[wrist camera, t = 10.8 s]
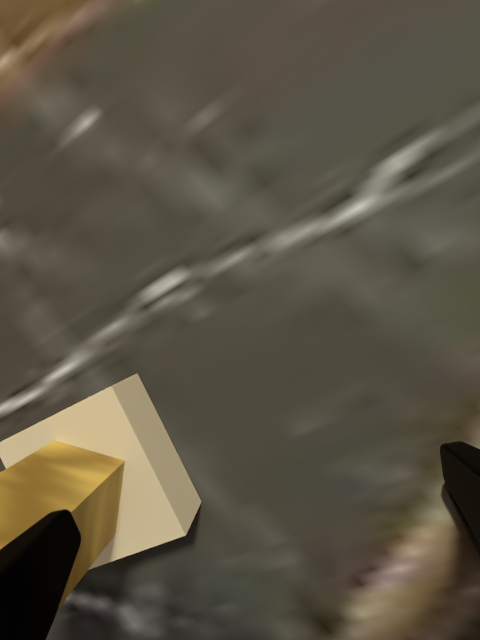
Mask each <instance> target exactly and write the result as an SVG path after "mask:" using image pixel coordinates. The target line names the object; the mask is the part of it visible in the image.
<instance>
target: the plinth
mask: <svg viewBox="0 0 480 640" xmlns="http://www.w3.org/2000/svg"><path fill="white" fill-rule="evenodd" d="M54 440H55V441H59V442H62V443H66V444H69V445H73V446H76V447H79V448H83V449H86V450H90V451H93V452H97V453H100V454H103V455H107V456H110V457H114V458H117V459H121V460H124V461H125V464H124V472H123V479H122V487H121V495H120V502H119V510H118V518H117V526H116V533H115V535H114V537H113V538H112V539H111V541H110V542H109V543H108V544H107V546H106V547H105V548H104V550H103V551H102V552H101V554H100V555H99V556H98V558H97V559H96V560H95V561H94V563H93V564H92V565H91V567H90V568H89V569H92V568H95V567H98V566H100V565H103V564H106V563H109V562H112V561H115V560H117V559H120V558H123V557H126V556H129V555H132V554H134V553H137V552H140V551H143V550H146V549H149V548H152V547H154V546H157V545H160V544H163V543H166V542H169V541H171V540H174V539H177V538H180V537H183V536H186V534H187V532H188V530H189V528H190V526H191V523H192V521H193V519H194V517H195V515H196V513H197V511H198V509H199V506H200V504H201V500H200V498H199V496H198V494H197V492H196V490H195V488H194V486H193V484H192V482H191V480H190V478H189V476H188V474H187V472H186V470H185V468H184V466H183V464H182V462H181V460H180V458H179V456H178V454H177V452H176V450H175V448H174V446H173V444H172V442H171V440H170V438H169V436H168V434H167V432H166V430H165V428H164V426H163V424H162V422H161V420H160V418H159V416H158V414H157V412H156V410H155V408H154V406H153V404H152V402H151V400H150V398H149V396H148V394H147V392H146V390H145V388H144V386H143V384H142V382H141V380H140V378H139V376H138V374H135V375H133V376H131V377H129V378H127V379H125V380H123V381H121V382H119V383H116V384H114V385H112V386H110V387H108V388H106V389H104V390H103V391H101V392H99V393H97V394H95V395H93V396H91V397H89V398H87V399H85V400H83V401H81V402H79V403H77V404H75V405H73V406H71V407H69V408H67V409H65V410H63V411H61V412H59V413H57V414H55V415H53V416H51V417H49V418H47V419H45V420H43V421H41V422H39V423H37V424H35V425H33V426H31V427H29V428H27V429H25V430H23V431H21V432H19V433H17V434H15V435H13V436H11V437H9V438H7V439H5V440H3V441H1V442H0V458H1V460H2V462H3V464H4V466H5V468H6V469H7V468H9V467H10V466H12V465H14V464H15V463H17V462H19V461H20V460H22V459H24V458H25V457H27V456H29V455H30V454H32V453H34V452H35V451H37V450H39V449H40V448H42V447H44V446H45V445H47V444H49V443H50V442H52V441H54ZM89 569H88V570H89Z"/></svg>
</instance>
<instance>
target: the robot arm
mask: <svg viewBox="0 0 480 640" xmlns="http://www.w3.org/2000/svg"><path fill="white" fill-rule="evenodd" d="M440 455H441V463H442V471H443V477H444V480H445V483H446V484H445V488H446V491H447V493H448V495H449V497H450V499H451V501H452V503H453V505H454V507H455V509H456V511H457V513H458V515H459V517H460V519H461V521H462V522H463V524H464V526H465V528H466V530H467V532H468V534H469V536H470V538H471V540H472V542H473V544H474V546H475V548H476V550H477V552H478V554H479V556H480V449H478V448H476V447H473V446H471V445H469V444H467V443H464V442H461V441H457V442H451V443H445V444H442V445H441V447H440ZM80 545H81V533H80V531H79V529H78V526H77V524H76V522H75V520H74V518H73V515H72V513H71V512H70V511H69V510H67V509H63V510H57V511H52V512H50V513H49V514H47V515H46V516H44V517H43V518H42V519H40V520H39V521H38V522H36V523H35V524H34V525H32V526H31V527H30V528H28V529H27V530H26V531H24V532H23V533H22V534H20V535H19V536H18V537H16V538H15V539H14V540H12V541H11V542H9V543H8V544H7V545H5V546H4V547H3V548H1V549H0V640H46V638H47V635H48V633H49V631H50V628H51V626H52V623H53V621H54V618H55V615H56V613H57V610H58V607H59V605H60V602H61V599H62V596H63V593H64V590H65V588H66V585H67V582H68V579H69V576H70V573H71V571H72V568H73V565H74V562H75V559H76V556H77V554H78V551H79V548H80Z"/></svg>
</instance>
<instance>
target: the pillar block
mask: <svg viewBox="0 0 480 640" xmlns="http://www.w3.org/2000/svg"><path fill="white" fill-rule="evenodd" d="M124 464H125V461H124V460H121V459H117V458H114V457H110V456H107V455H103V454H100V453H97V452H93V451H90V450H86V449H83V448H79V447H76V446H73V445H69V444H66V443H62V442H59V441H55V440H54V441H52V442H50V443H49V444H47V445H45V446H44V447H42V448H40V449H39V450H37V451H35V452H34V453H32V454H30V455H29V456H27V457H25V458H24V459H22V460H20V461H19V462H17V463H15V464H14V465H12V466H10V467H9V468H7V469H5V470H4V471H2V472H0V549H1V548H3V547H4V546H5V545H7V544H8V543H9V542H11V541H12V540H14V539H15V538H16V537H18V536H19V535H20V534H22V533H23V532H24V531H26V530H27V529H28V528H30V527H31V526H32V525H34V524H35V523H36V522H38V521H39V520H40V519H42V518H43V517H44V516H46V515H47V514H49V513H50V512H52V511H57V510H63V509H67V510H69V511H70V512H71V513H72V515H73V518H74V520H75V522H76V524H77V526H78V529H79V531H80V533H81V545H80V548H79V551H78V554H77V556H76V559H75V562H74V565H73V568H72V571H71V573H70V576H69V579H68V582H67V585H66V588H65V590H64V593H63V596H62V599H61V602H60V605H59V607H60V606H61V605H62V603H63V602H64V601H65V599H66V598H67V597H68V595H69V594H70V593H71V592H72V590H73V589H74V588H75V586H76V585H77V584H78V582H79V581H80V580H81V578H82V577H83V576H84V575H85V573H86V572H87V571H88V569H89V568H90V567H91V565H92V564H93V563H94V561H95V560H96V559H97V558H98V556H99V555H100V554H101V552H102V551H103V550H104V548H105V547H106V546H107V544H108V543H109V542H110V541H111V539H112V538H113V537H114V535H115V533H116V526H117V518H118V510H119V502H120V495H121V487H122V479H123V472H124ZM59 607H58V609H59Z"/></svg>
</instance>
